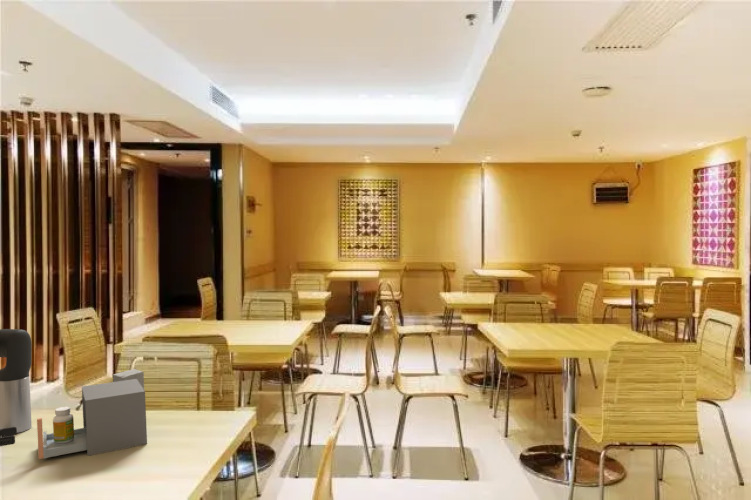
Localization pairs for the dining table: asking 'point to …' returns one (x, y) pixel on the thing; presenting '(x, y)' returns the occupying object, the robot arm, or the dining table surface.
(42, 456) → the drawer
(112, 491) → the dining table surface
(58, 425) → the supplement bottle
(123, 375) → the skincare box
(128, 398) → the cabinet
